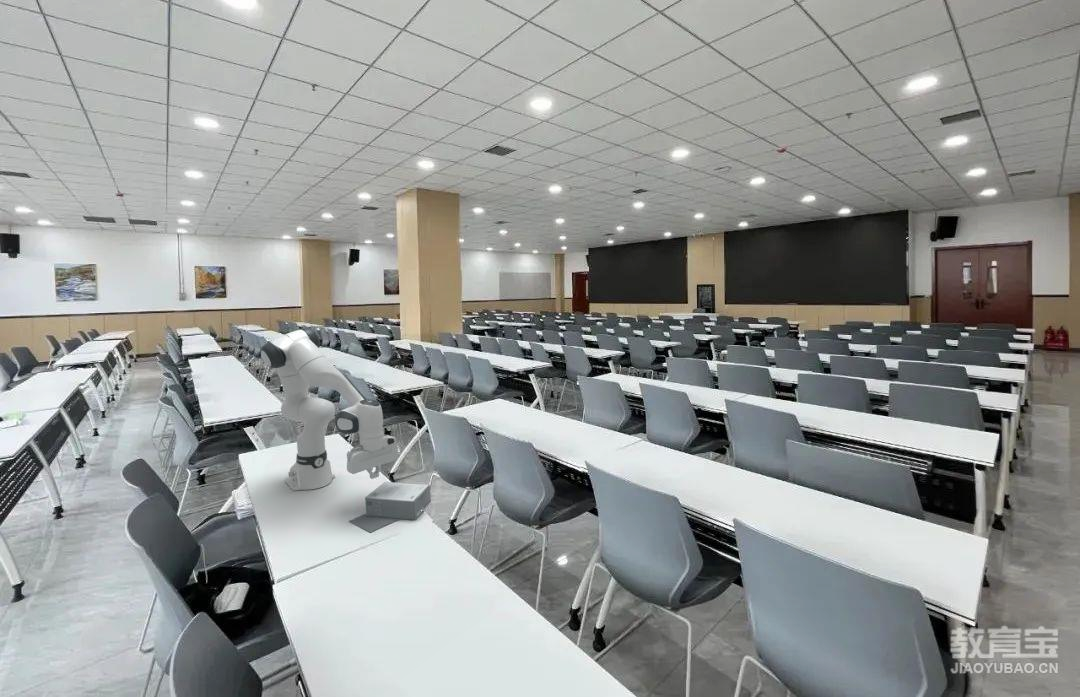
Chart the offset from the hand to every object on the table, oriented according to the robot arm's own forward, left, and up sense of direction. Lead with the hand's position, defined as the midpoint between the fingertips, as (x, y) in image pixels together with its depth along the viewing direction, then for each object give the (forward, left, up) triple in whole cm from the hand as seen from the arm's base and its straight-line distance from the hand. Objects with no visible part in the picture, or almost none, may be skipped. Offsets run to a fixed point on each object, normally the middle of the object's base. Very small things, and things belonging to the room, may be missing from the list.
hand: (374, 477), depth 192 cm
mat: (+5, +1, -14) cm, 15 cm away
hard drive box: (-4, +2, -10) cm, 11 cm away
